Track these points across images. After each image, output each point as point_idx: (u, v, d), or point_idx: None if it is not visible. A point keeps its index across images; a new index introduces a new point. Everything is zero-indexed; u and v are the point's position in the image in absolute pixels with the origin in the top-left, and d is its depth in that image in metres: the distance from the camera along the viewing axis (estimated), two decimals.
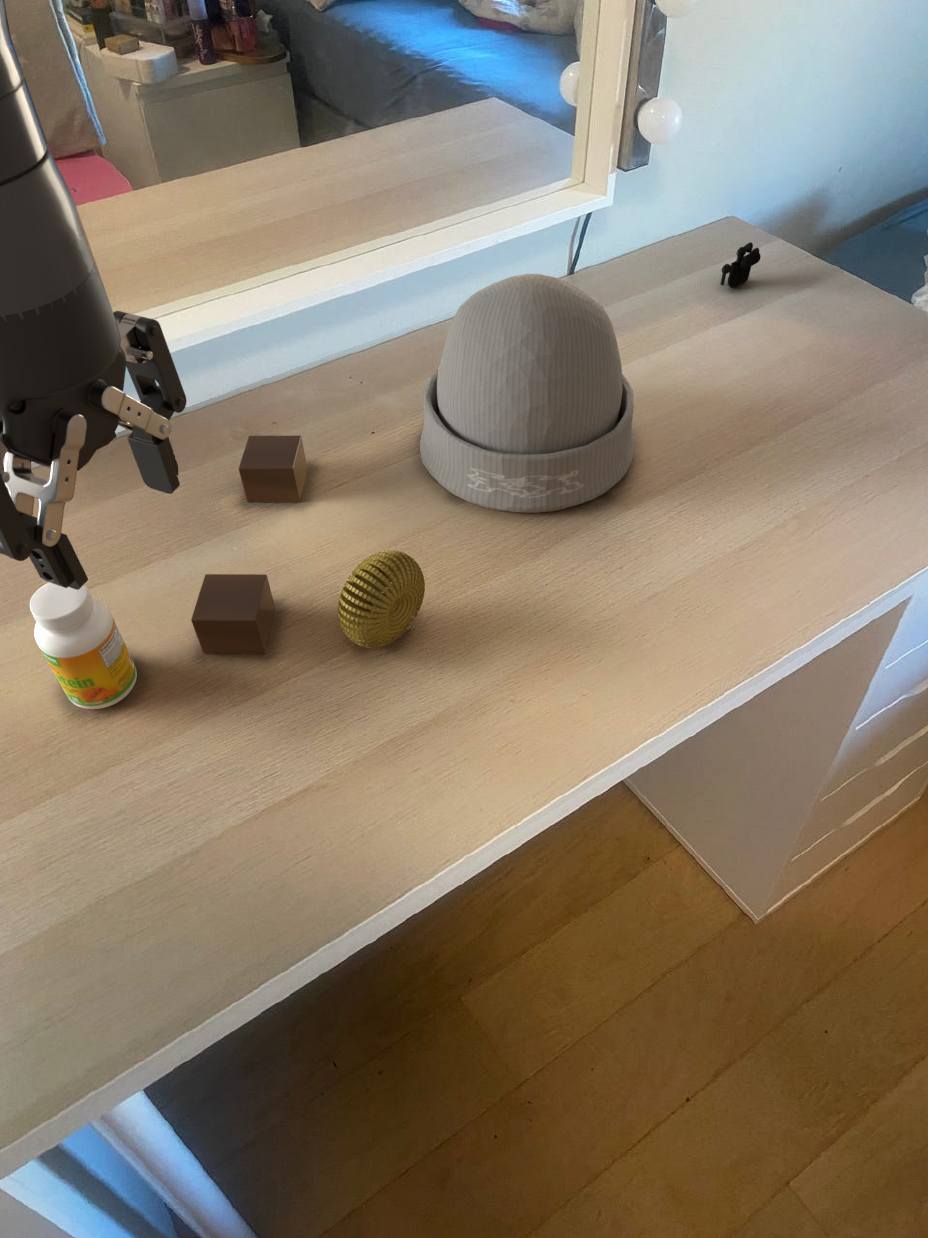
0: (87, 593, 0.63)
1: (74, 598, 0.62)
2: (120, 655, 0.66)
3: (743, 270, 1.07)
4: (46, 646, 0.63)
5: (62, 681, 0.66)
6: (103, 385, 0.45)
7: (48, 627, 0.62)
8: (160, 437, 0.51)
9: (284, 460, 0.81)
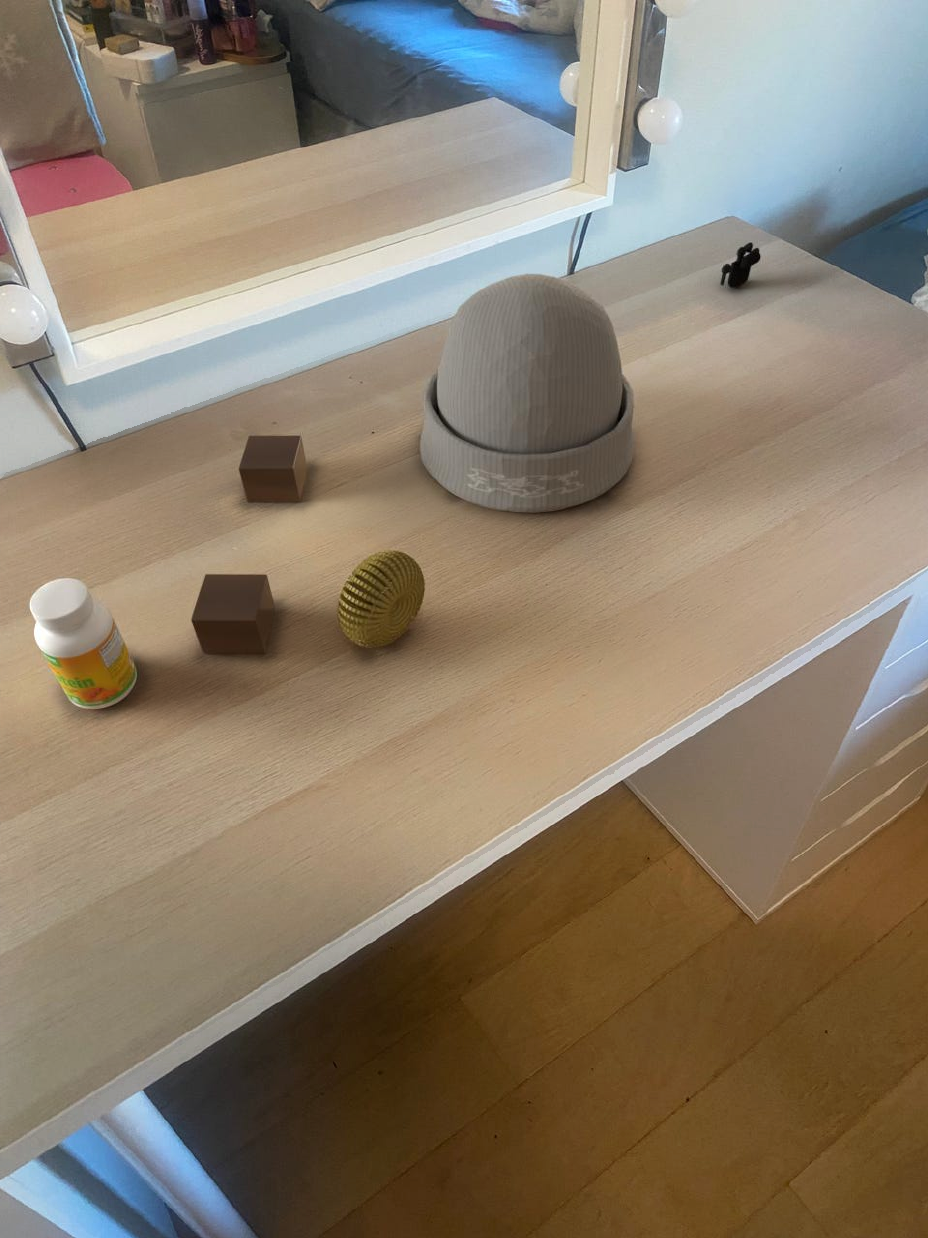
0: (87, 593, 0.63)
1: (74, 598, 0.62)
2: (120, 655, 0.66)
3: (743, 270, 1.07)
4: (46, 646, 0.63)
5: (62, 681, 0.66)
6: None
7: (48, 627, 0.62)
8: None
9: (284, 460, 0.81)
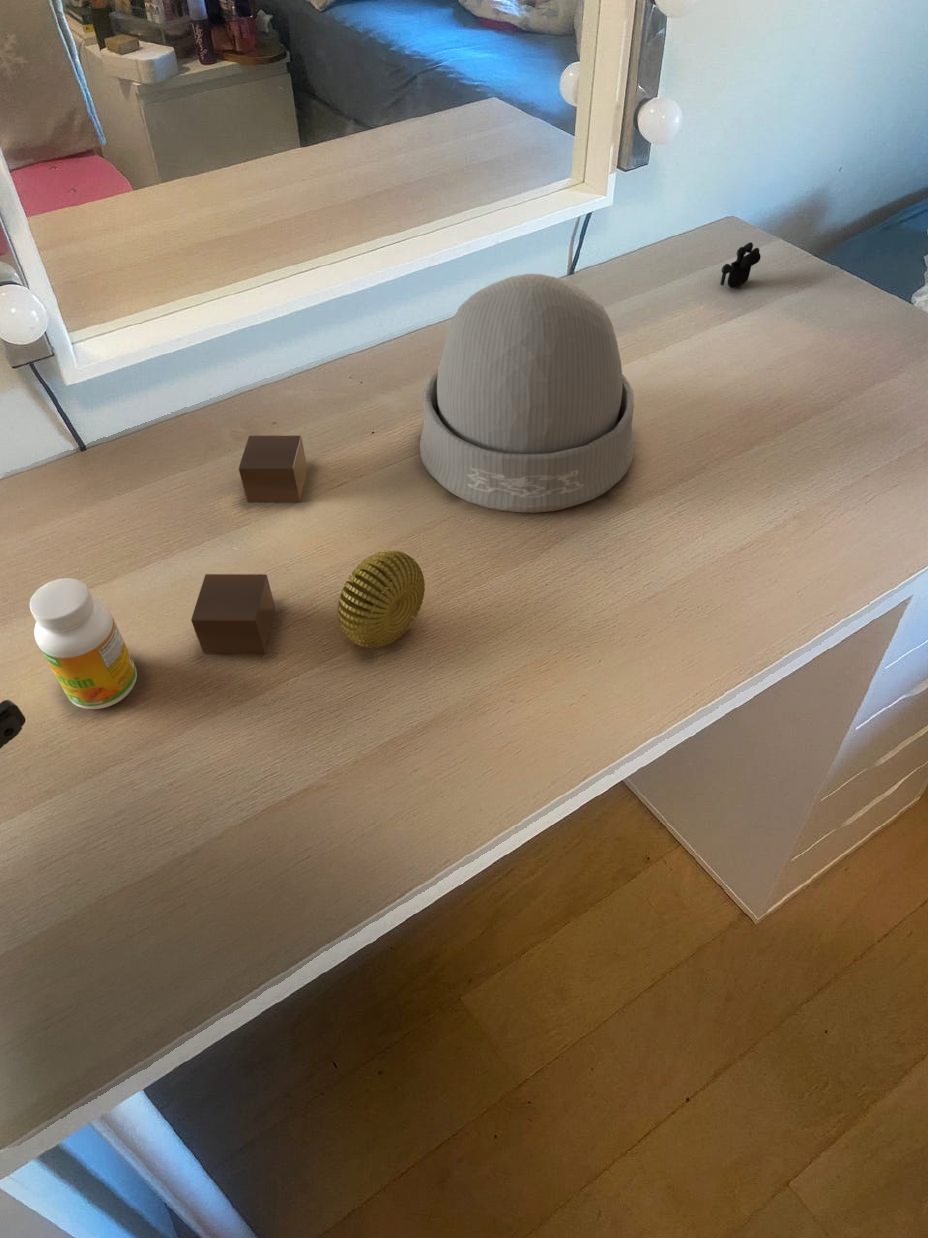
0: (87, 593, 0.63)
1: (74, 598, 0.62)
2: (120, 655, 0.66)
3: (743, 270, 1.07)
4: (46, 646, 0.63)
5: (62, 681, 0.66)
6: None
7: (48, 627, 0.62)
8: None
9: (284, 460, 0.81)
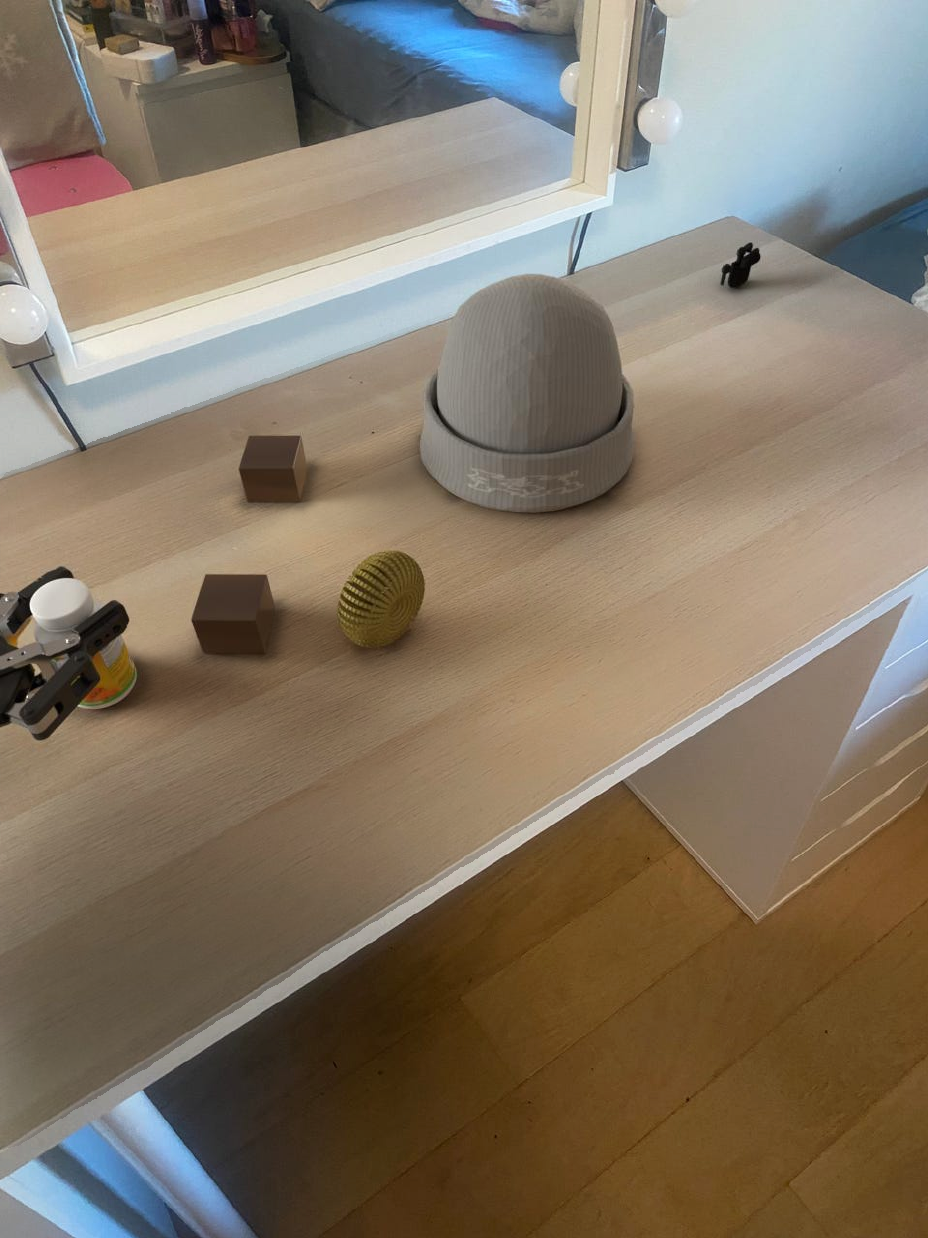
0: (87, 593, 0.63)
1: (74, 598, 0.62)
2: (120, 655, 0.66)
3: (743, 270, 1.07)
4: None
5: None
6: None
7: (48, 627, 0.62)
8: None
9: (284, 460, 0.81)
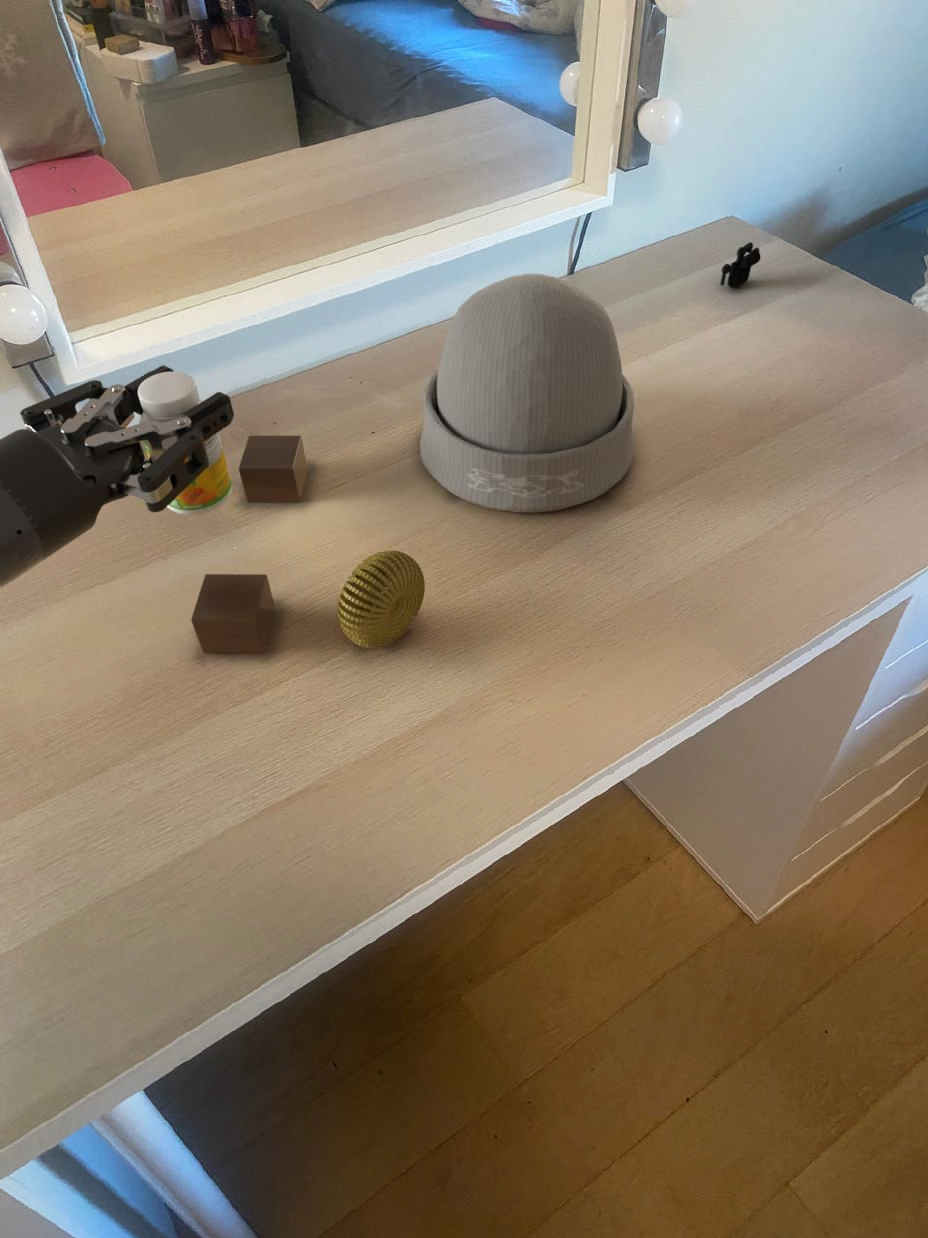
0: (194, 383, 0.63)
1: (181, 386, 0.62)
2: (220, 457, 0.66)
3: (743, 270, 1.07)
4: None
5: None
6: None
7: (156, 413, 0.62)
8: None
9: (284, 460, 0.81)
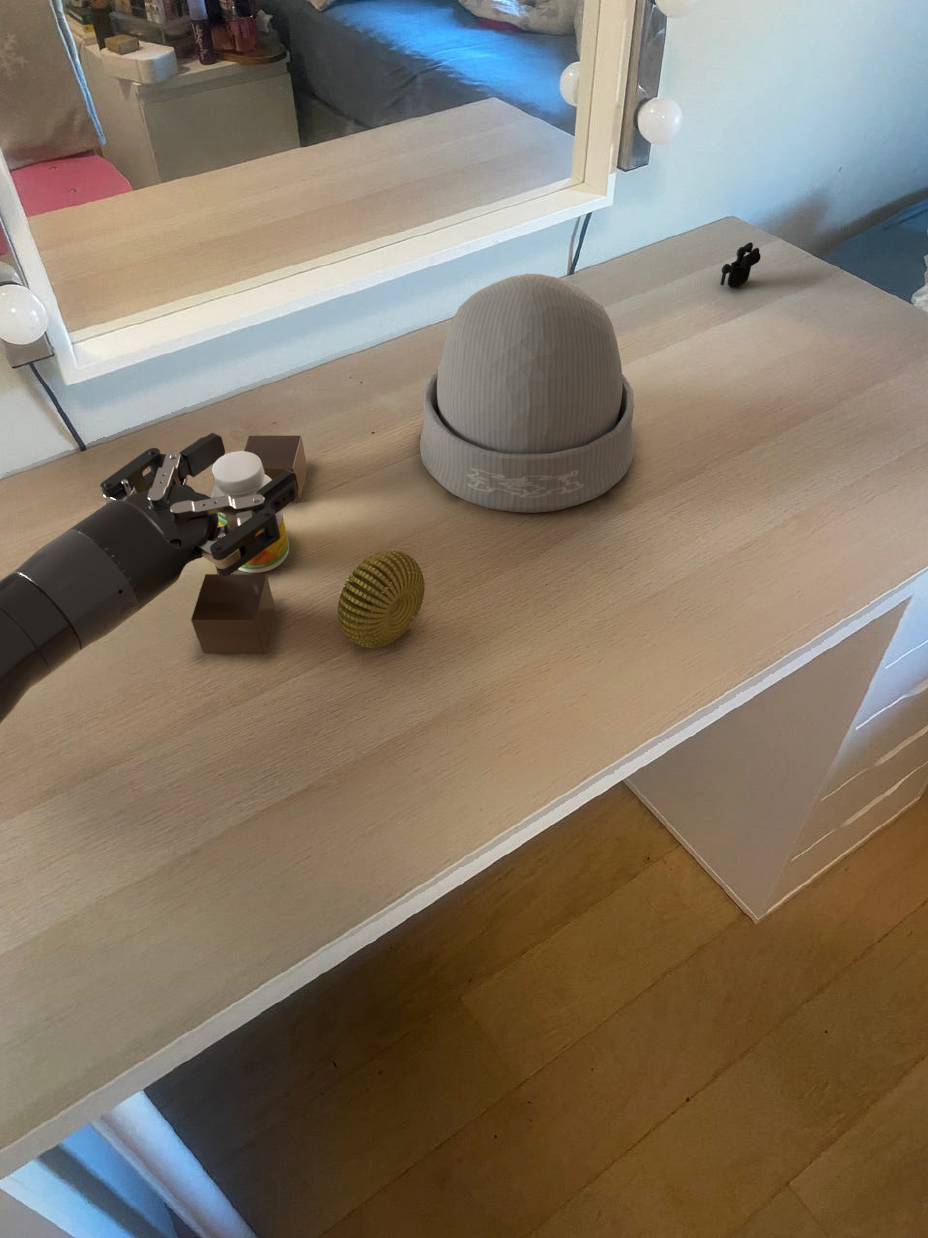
0: (261, 462, 0.72)
1: (250, 466, 0.72)
2: (281, 523, 0.76)
3: (743, 270, 1.07)
4: None
5: None
6: None
7: (229, 490, 0.71)
8: None
9: (284, 460, 0.81)
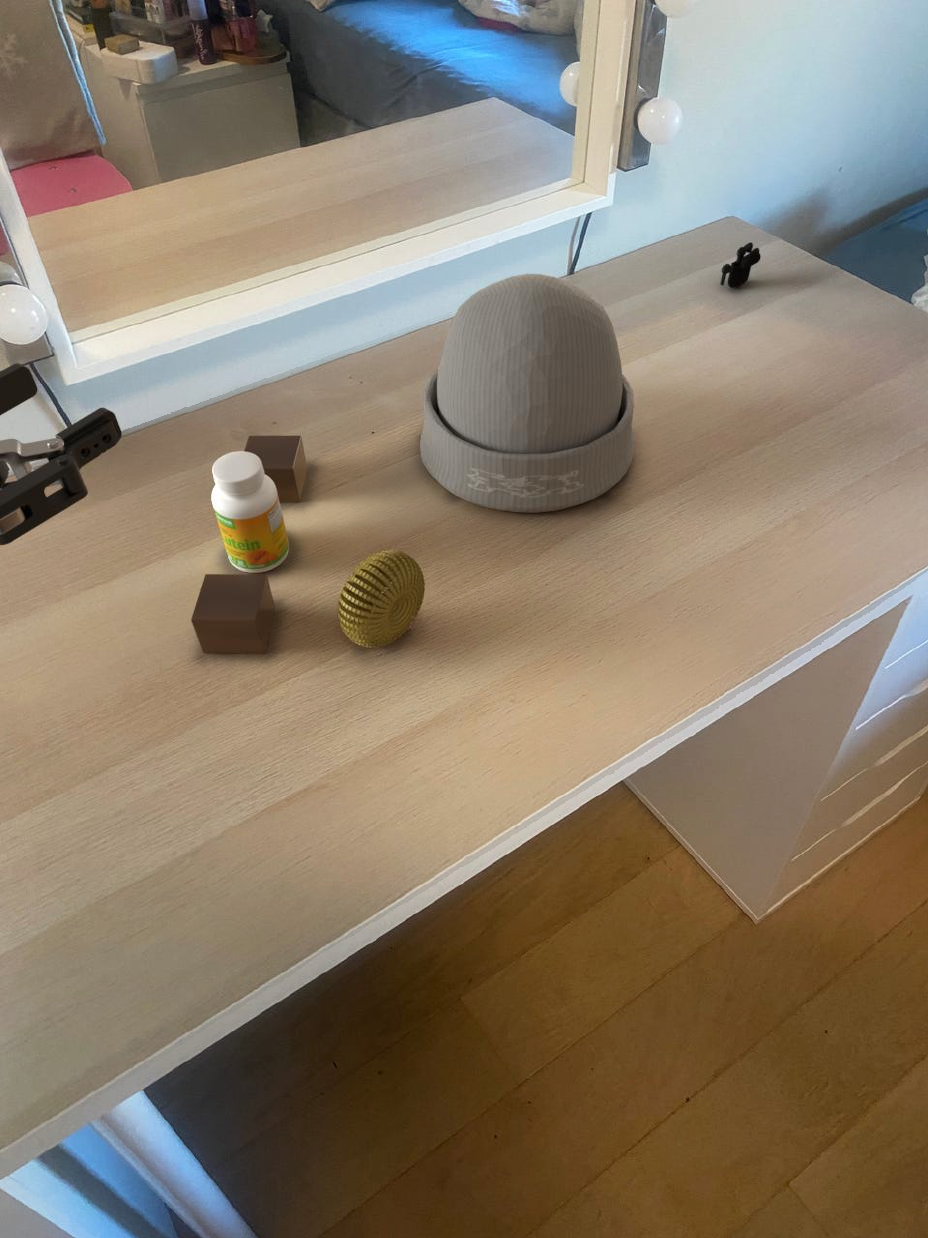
0: (261, 462, 0.72)
1: (249, 466, 0.72)
2: (281, 523, 0.76)
3: (743, 270, 1.07)
4: (225, 508, 0.72)
5: (232, 544, 0.75)
6: None
7: (229, 490, 0.71)
8: None
9: (284, 460, 0.81)
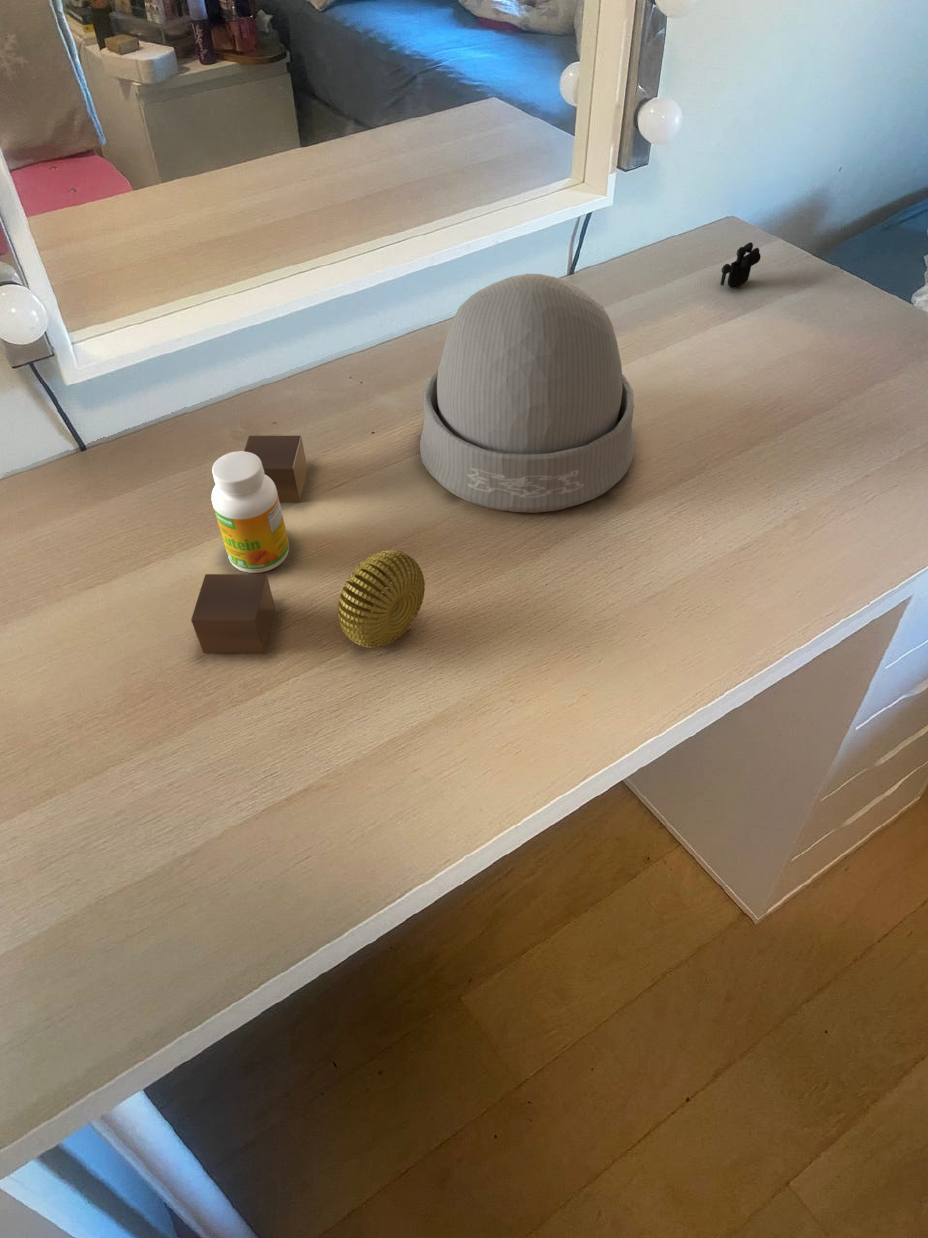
0: (261, 462, 0.72)
1: (249, 466, 0.72)
2: (281, 523, 0.76)
3: (743, 270, 1.07)
4: (225, 508, 0.72)
5: (232, 544, 0.75)
6: None
7: (229, 490, 0.71)
8: None
9: (284, 460, 0.81)
